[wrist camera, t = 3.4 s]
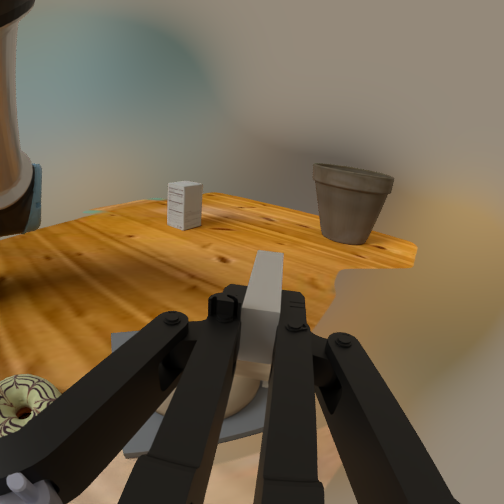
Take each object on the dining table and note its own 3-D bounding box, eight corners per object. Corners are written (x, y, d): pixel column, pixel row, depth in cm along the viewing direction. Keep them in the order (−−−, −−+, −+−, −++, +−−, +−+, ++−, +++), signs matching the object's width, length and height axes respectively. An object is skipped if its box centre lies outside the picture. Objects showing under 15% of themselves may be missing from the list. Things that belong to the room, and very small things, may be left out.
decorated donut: (47, 484, 15) (29, 466, 14) (-21, 433, 16) (-37, 412, 14) (90, 412, 25) (80, 390, 23) (23, 380, 25) (13, 357, 24)
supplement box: (184, 220, 91) (186, 180, 86) (201, 226, 87) (204, 183, 83) (166, 225, 85) (167, 182, 81) (183, 231, 82) (184, 186, 77)
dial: (108, 399, 25) (86, 323, 22) (157, 323, 39) (153, 257, 36) (273, 437, 24) (293, 365, 21) (280, 344, 38) (292, 277, 34)
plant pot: (292, 236, 86) (303, 161, 78) (315, 220, 107) (324, 161, 99) (377, 258, 76) (393, 180, 68) (382, 237, 97) (394, 175, 89)
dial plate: (112, 338, 36) (110, 331, 36) (240, 323, 44) (241, 316, 44) (125, 458, 20) (122, 452, 20) (306, 417, 28) (308, 410, 28)
